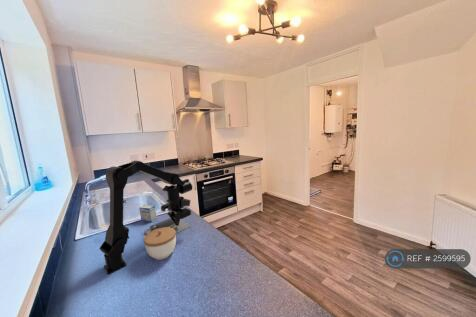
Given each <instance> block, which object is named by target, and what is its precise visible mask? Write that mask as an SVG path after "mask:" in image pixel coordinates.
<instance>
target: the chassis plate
mask: <svg viewBox="0 0 476 317" xmlns="http://www.w3.org/2000/svg"><path fill="white" fill-rule="evenodd" d="M191 226H192V225H191V224H190V223H188V222H186V221H185V220H183V219H180V222H179V225H178V226H176V225H175V224H173V225H171V226H169V227H170V228H173V229H175V231H176V234H178V233H181V232H182V231H185V230H186V229H188V228H190V227H191ZM149 232H151V231H150V227H149V228H148V229H144V230H143V233H144V234H145V236H146V235H147V234H148V233H149Z"/></svg>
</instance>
